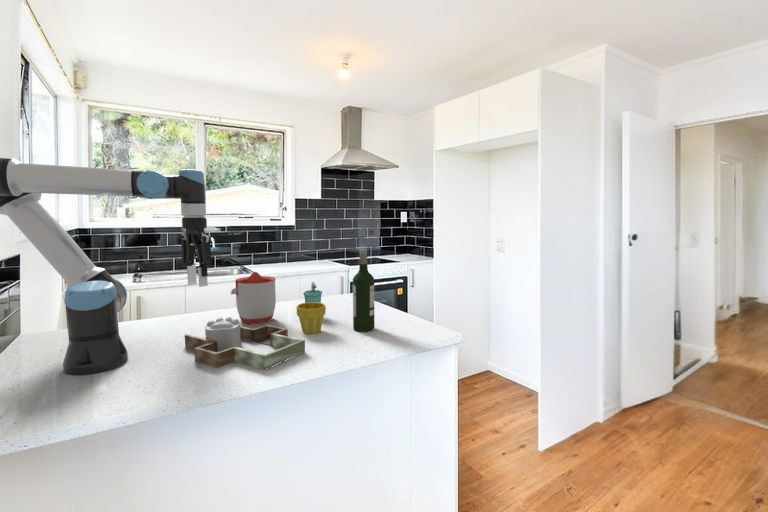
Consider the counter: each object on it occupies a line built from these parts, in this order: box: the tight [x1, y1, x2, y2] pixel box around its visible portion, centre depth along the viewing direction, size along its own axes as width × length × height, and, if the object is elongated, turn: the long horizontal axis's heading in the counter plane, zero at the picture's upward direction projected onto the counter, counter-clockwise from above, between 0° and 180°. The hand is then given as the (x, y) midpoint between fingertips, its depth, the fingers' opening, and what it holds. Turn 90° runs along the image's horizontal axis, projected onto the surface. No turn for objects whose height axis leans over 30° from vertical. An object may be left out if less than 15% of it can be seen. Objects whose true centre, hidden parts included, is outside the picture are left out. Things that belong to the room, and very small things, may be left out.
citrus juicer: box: [230, 271, 277, 325], centre depth 160 cm, size 16×17×20 cm
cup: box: [303, 281, 323, 303], centre depth 165 cm, size 14×8×15 cm, turn 18°
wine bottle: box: [352, 248, 375, 333], centre depth 148 cm, size 8×8×30 cm
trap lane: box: [184, 324, 306, 370], centre depth 127 cm, size 37×28×4 cm
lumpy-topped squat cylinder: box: [204, 316, 242, 352], centre depth 132 cm, size 10×13×9 cm
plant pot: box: [296, 302, 327, 335], centre depth 146 cm, size 10×10×10 cm
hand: (197, 285), depth 136 cm, fingers open, 5 cm apart
